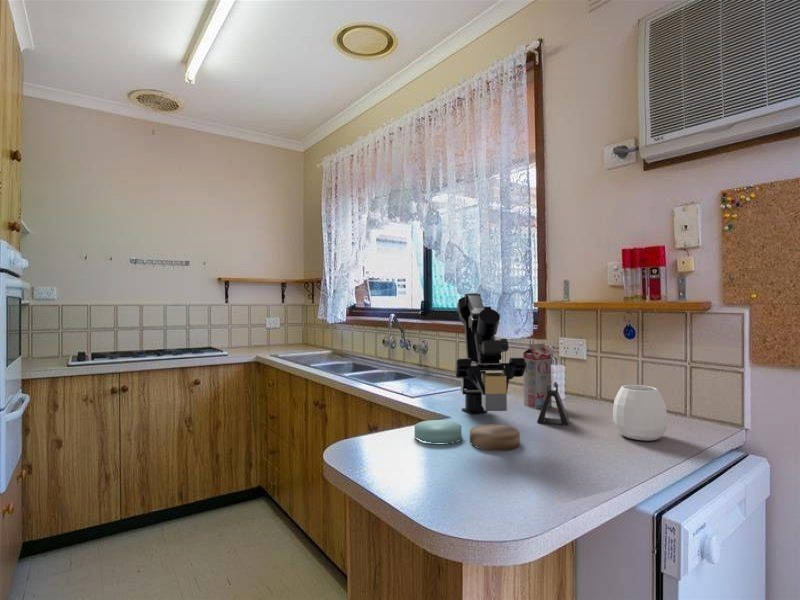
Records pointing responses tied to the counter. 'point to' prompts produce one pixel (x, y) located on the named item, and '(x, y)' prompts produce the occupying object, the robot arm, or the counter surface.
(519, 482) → the counter surface
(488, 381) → the block
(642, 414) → the white faceted vase
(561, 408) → the phone stand
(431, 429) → the stand
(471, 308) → the robot arm
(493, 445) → the stand
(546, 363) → the juice carton
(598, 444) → the counter surface
